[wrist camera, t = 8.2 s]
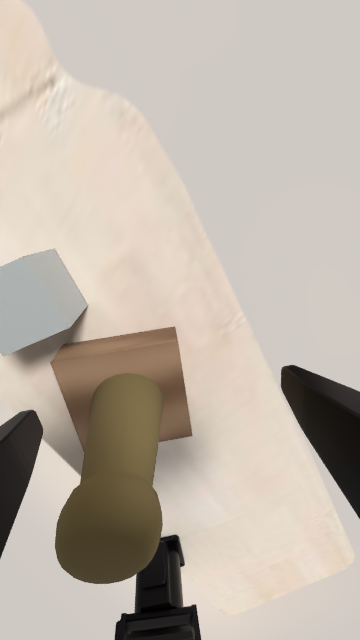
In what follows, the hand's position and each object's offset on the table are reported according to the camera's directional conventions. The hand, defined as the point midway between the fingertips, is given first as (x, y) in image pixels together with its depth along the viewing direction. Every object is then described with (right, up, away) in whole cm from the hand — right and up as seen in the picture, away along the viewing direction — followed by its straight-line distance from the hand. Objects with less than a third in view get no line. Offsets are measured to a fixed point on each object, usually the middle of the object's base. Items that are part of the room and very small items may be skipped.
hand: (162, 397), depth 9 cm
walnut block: (-4, -3, +15) cm, 16 cm away
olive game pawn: (-4, -4, +13) cm, 14 cm away
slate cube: (-10, +5, +11) cm, 16 cm away
